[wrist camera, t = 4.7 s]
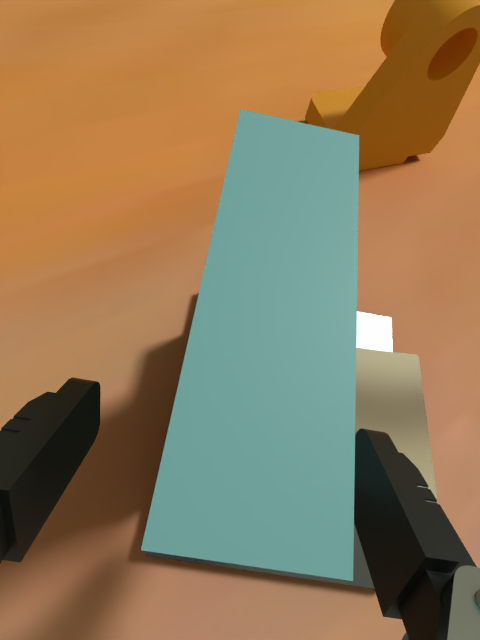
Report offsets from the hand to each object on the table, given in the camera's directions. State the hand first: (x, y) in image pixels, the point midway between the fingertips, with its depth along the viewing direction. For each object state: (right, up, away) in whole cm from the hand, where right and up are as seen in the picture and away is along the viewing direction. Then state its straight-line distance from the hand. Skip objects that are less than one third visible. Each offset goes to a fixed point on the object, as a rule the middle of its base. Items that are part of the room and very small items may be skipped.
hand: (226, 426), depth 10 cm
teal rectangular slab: (-1, -2, +9) cm, 9 cm away
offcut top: (+7, -2, +7) cm, 11 cm away
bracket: (+13, +21, +21) cm, 32 cm away
